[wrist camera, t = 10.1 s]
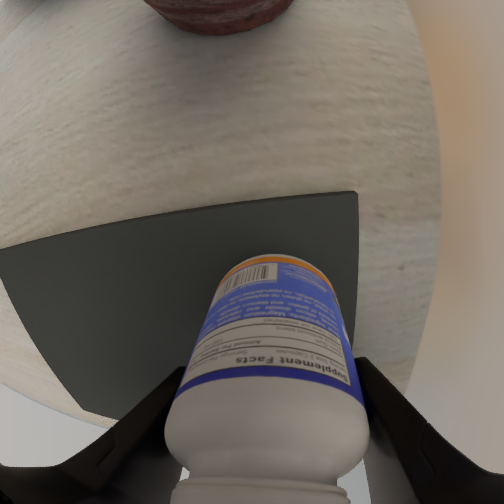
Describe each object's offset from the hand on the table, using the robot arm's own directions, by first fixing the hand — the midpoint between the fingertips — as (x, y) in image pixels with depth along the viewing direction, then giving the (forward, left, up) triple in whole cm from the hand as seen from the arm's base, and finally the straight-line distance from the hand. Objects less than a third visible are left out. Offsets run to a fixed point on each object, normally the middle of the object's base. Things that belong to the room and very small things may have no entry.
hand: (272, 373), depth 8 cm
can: (0, -15, -6) cm, 16 cm away
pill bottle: (0, 0, -4) cm, 4 cm away
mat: (+9, +5, -5) cm, 12 cm away
